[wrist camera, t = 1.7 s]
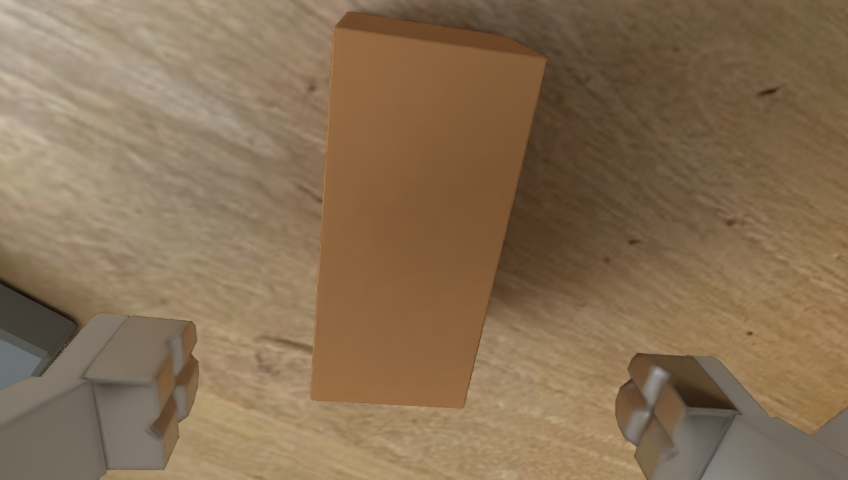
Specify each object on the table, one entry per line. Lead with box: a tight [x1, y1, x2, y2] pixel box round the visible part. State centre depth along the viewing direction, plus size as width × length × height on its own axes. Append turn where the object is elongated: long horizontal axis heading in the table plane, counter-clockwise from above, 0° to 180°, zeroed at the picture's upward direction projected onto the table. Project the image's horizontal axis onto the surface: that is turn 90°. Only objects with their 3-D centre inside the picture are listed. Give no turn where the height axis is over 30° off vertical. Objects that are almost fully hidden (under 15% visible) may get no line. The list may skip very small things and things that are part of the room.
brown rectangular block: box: [310, 12, 547, 408], centre depth 15 cm, size 10×4×4 cm, turn 172°
